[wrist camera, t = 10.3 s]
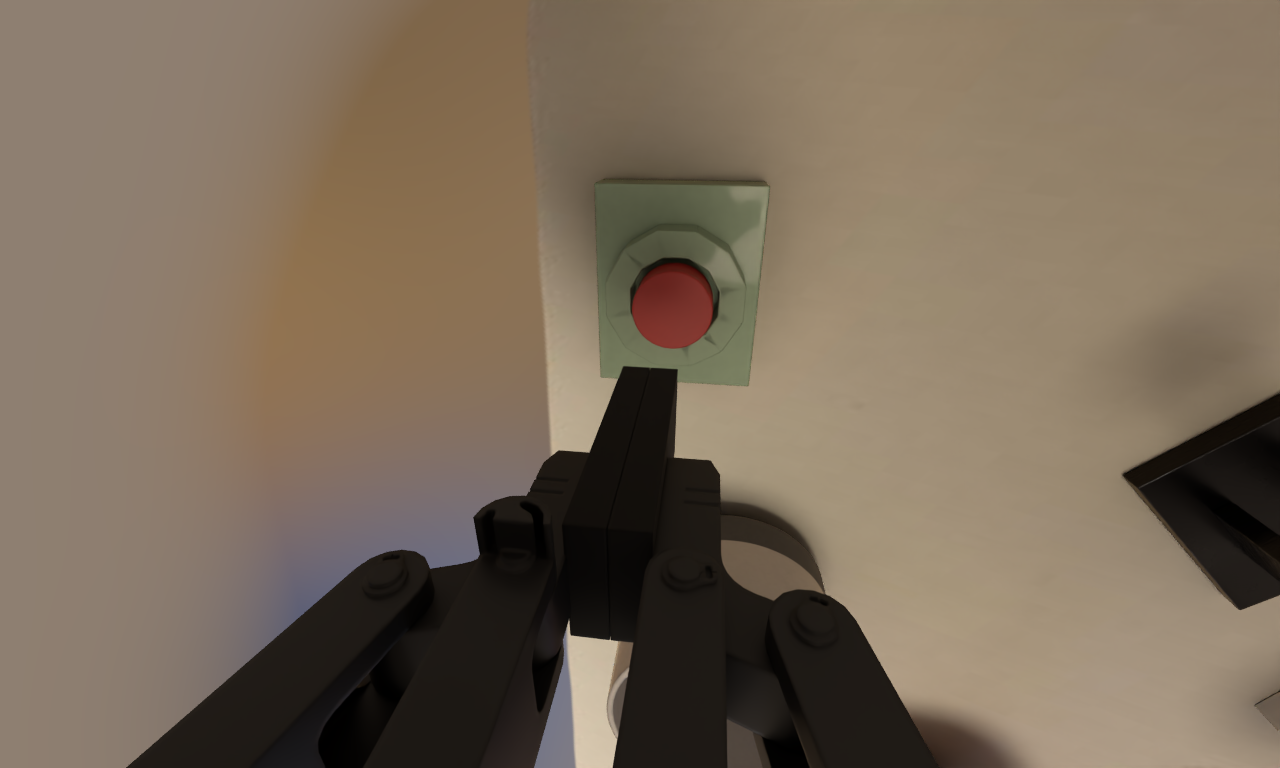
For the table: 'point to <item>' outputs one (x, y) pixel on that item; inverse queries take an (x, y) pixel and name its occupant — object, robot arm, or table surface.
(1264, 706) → the model tower
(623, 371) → the robot arm
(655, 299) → the button
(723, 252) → the button base
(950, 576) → the table surface
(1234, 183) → the table surface
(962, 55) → the table surface
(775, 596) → the planter
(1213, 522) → the bracket
